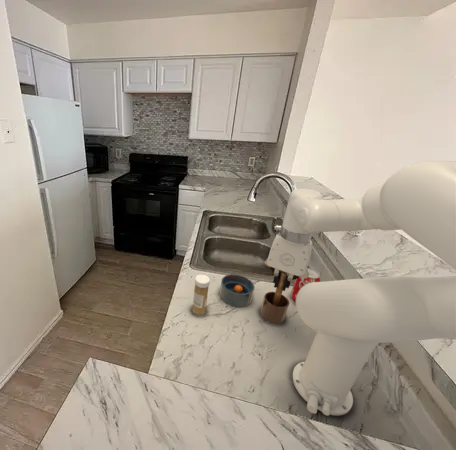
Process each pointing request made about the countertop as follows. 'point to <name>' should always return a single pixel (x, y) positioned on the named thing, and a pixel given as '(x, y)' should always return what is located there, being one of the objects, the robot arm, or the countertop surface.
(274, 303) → the cooking stick
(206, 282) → the sprinkles bottle
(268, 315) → the pot
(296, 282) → the soda can
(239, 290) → the orange ball
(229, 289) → the bowl
